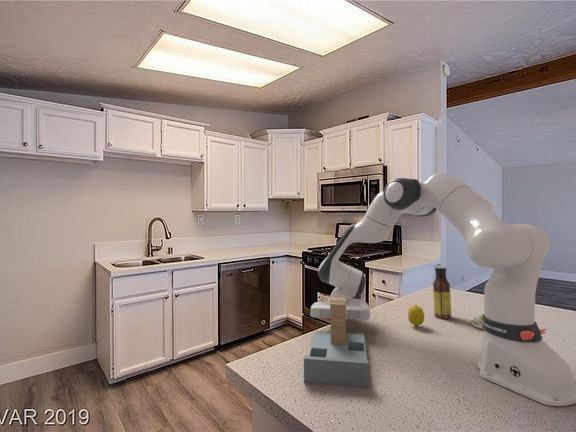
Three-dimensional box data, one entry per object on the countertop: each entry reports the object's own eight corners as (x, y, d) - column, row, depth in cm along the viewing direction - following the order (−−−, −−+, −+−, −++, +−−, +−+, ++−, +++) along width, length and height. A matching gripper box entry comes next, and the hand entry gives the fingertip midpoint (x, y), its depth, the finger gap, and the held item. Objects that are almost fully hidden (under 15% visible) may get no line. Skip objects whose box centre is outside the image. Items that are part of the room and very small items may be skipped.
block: (332, 333, 107) (331, 296, 106) (346, 334, 106) (345, 297, 105) (330, 343, 99) (330, 304, 98) (345, 344, 98) (345, 304, 98)
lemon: (421, 324, 122) (421, 303, 122) (426, 329, 117) (426, 307, 116) (406, 323, 123) (406, 302, 122) (410, 329, 117) (410, 307, 117)
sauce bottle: (452, 315, 131) (452, 266, 130) (450, 320, 125) (450, 269, 125) (434, 313, 134) (434, 265, 134) (431, 317, 129) (431, 267, 129)
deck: (315, 340, 109) (314, 322, 109) (364, 343, 106) (364, 324, 106) (304, 382, 83) (303, 358, 83) (368, 387, 80) (368, 363, 80)
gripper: (312, 296, 122) (307, 307, 108) (368, 298, 118) (370, 310, 104) (312, 313, 122) (307, 326, 108) (368, 315, 118) (371, 329, 105)
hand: (339, 318), depth 106 cm, fingers closed
